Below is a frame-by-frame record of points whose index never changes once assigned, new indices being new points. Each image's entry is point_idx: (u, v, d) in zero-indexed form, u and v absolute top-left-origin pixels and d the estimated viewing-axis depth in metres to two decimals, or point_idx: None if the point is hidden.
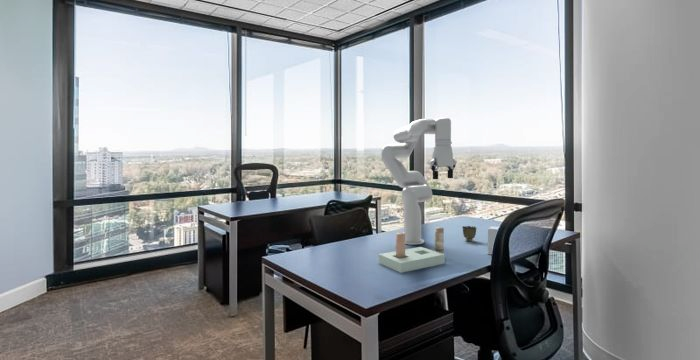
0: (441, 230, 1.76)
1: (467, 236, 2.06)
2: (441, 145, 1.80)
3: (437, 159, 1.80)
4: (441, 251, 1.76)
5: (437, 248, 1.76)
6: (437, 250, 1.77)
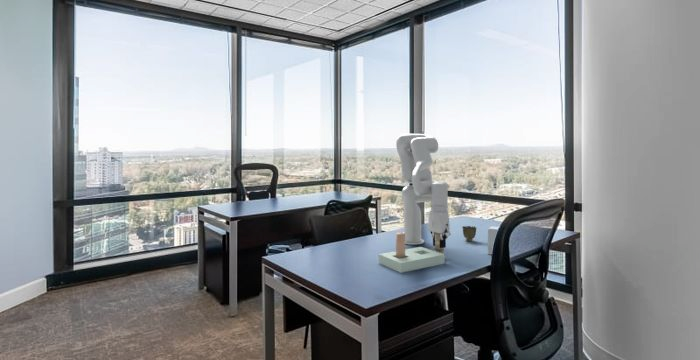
0: None
1: (467, 236, 2.06)
2: None
3: (449, 228, 1.74)
4: (441, 251, 1.76)
5: (437, 248, 1.76)
6: (437, 250, 1.77)
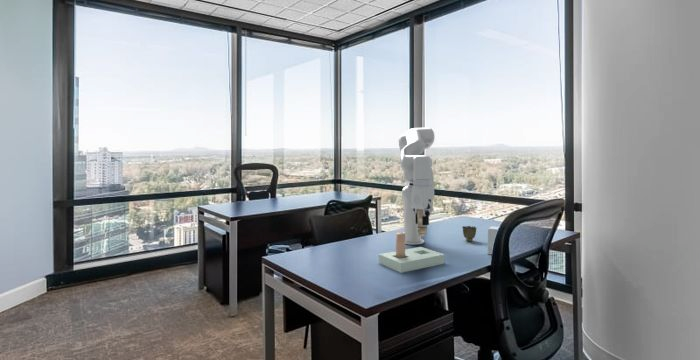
0: None
1: (467, 236, 2.06)
2: (430, 185, 1.65)
3: (432, 204, 1.64)
4: (424, 229, 1.66)
5: (420, 225, 1.66)
6: (420, 228, 1.66)
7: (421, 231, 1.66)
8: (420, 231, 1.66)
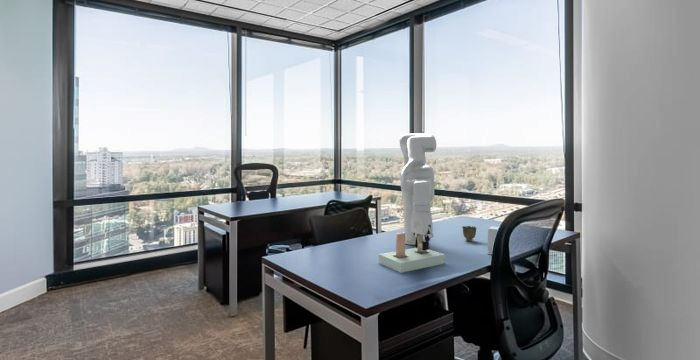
0: None
1: (467, 236, 2.06)
2: (430, 210, 1.66)
3: (431, 229, 1.65)
4: (424, 253, 1.67)
5: (420, 250, 1.67)
6: (420, 252, 1.67)
7: None
8: None
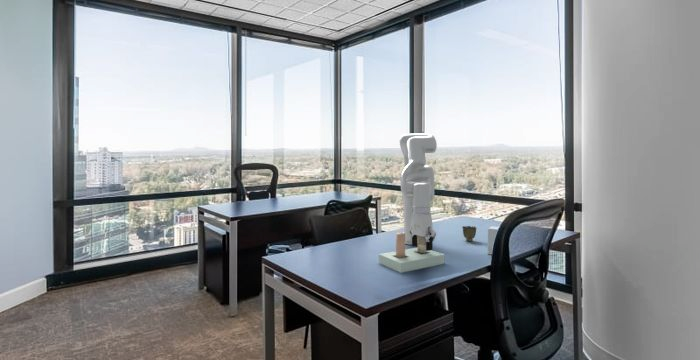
0: None
1: (467, 236, 2.06)
2: (430, 212, 1.66)
3: (431, 228, 1.65)
4: None
5: (420, 251, 1.67)
6: (420, 253, 1.67)
7: None
8: None
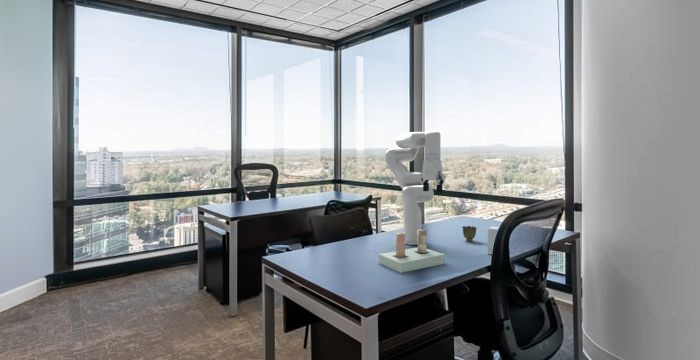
0: (424, 232, 1.66)
1: (467, 236, 2.06)
2: None
3: (441, 172, 1.80)
4: None
5: (420, 251, 1.67)
6: (420, 253, 1.67)
7: None
8: None
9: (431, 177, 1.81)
